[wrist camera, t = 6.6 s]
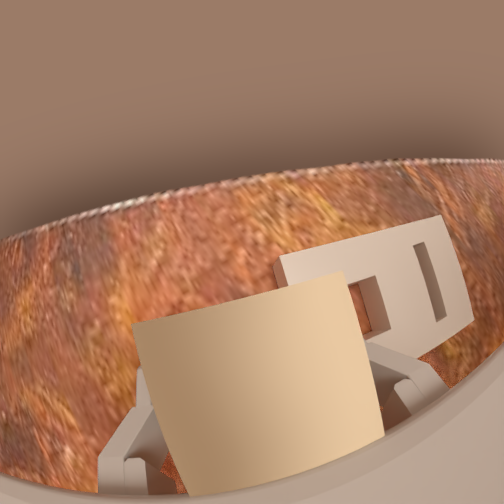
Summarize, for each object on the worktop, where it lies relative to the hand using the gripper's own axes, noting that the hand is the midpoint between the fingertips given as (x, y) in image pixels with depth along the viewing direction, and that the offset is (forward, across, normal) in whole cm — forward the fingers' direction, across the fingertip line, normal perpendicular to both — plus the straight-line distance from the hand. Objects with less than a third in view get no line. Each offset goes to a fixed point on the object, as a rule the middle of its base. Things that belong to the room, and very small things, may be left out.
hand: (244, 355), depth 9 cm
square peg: (+3, 0, +4) cm, 5 cm away
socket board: (+12, -17, +13) cm, 25 cm away
